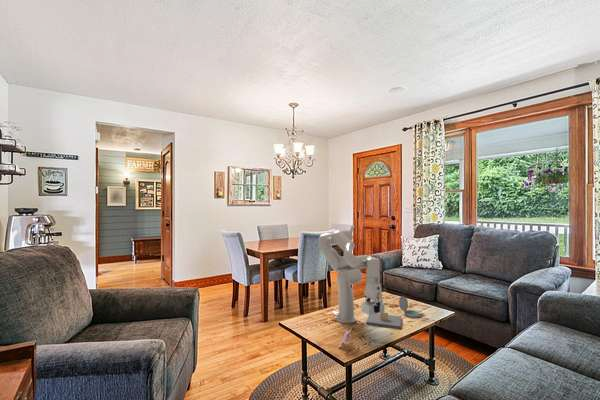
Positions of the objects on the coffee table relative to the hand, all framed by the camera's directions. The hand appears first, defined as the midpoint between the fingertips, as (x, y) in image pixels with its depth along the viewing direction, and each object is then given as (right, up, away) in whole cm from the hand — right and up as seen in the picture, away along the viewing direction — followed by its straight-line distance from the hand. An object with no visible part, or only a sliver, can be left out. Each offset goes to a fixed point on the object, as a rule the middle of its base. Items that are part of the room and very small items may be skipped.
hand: (372, 309), depth 167 cm
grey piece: (+11, -13, +16) cm, 23 cm away
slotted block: (0, -1, 0) cm, 1 cm away
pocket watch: (+32, -13, +25) cm, 43 cm away
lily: (-18, -14, -15) cm, 27 cm away
